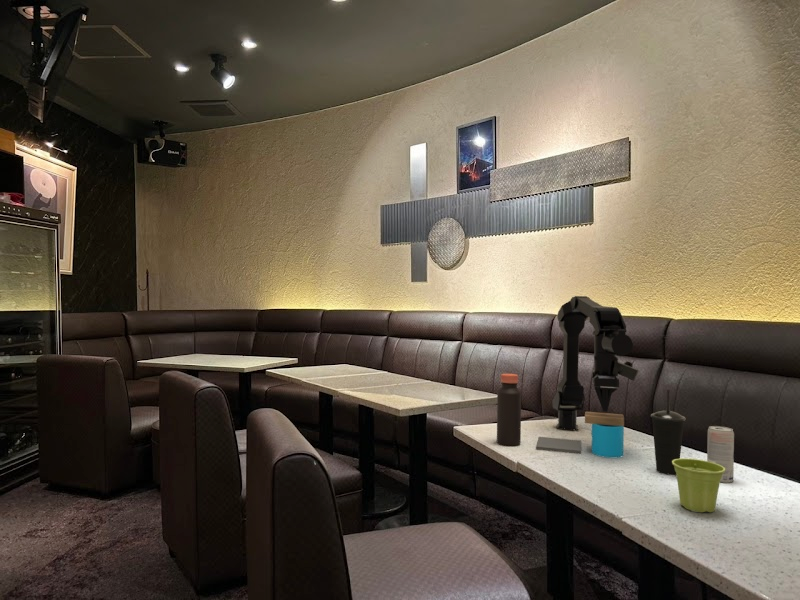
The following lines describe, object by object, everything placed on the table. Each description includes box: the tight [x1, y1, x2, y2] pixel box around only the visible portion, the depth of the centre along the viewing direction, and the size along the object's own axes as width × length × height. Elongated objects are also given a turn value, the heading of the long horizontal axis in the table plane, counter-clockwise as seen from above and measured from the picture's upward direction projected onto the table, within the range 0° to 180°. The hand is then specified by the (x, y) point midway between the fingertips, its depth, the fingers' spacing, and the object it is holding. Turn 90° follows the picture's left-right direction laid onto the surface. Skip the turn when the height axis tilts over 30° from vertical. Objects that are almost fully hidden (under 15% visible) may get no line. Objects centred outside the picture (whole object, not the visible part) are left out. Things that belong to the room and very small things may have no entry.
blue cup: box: [590, 424, 625, 458], centre depth 150 cm, size 12×8×8 cm
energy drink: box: [706, 425, 735, 484], centre depth 127 cm, size 5×5×12 cm
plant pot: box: [672, 458, 725, 513], centre depth 109 cm, size 9×9×9 cm
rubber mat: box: [535, 436, 582, 455], centre depth 155 cm, size 12×12×1 cm
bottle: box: [496, 373, 522, 447], centre depth 157 cm, size 7×7×20 cm
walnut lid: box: [584, 411, 625, 427], centre depth 150 cm, size 6×10×2 cm, turn 70°
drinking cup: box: [650, 389, 686, 476], centre depth 133 cm, size 8×8×20 cm
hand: (604, 408), depth 150 cm, fingers open, 9 cm apart
